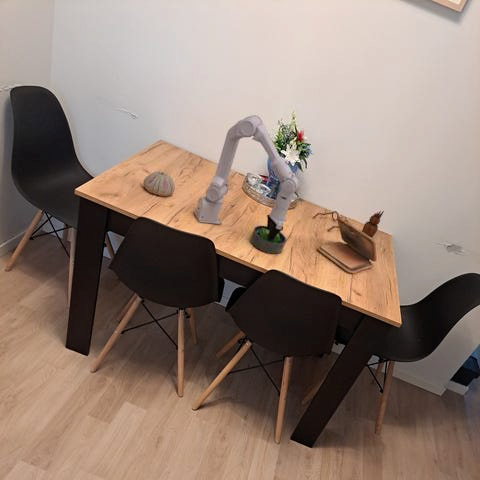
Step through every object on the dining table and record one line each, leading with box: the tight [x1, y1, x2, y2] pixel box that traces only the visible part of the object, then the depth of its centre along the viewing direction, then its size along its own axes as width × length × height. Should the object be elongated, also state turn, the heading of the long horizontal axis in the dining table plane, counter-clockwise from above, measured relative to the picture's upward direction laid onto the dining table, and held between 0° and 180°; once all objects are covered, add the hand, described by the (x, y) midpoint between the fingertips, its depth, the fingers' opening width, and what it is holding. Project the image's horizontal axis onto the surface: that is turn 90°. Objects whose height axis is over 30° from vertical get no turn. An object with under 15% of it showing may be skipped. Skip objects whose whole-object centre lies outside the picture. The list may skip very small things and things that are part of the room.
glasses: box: [312, 210, 350, 232], centre depth 229 cm, size 13×13×5 cm
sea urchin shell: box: [143, 170, 176, 197], centre depth 196 cm, size 13×14×8 cm
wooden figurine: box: [361, 210, 385, 239], centre depth 229 cm, size 7×6×15 cm
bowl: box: [250, 225, 287, 254], centre depth 189 cm, size 14×14×5 cm
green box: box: [259, 228, 280, 243], centre depth 188 cm, size 8×5×3 cm, turn 96°
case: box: [317, 217, 378, 274], centre depth 200 cm, size 20×21×16 cm
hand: (269, 236), depth 188 cm, fingers closed on green box, 4 cm apart
